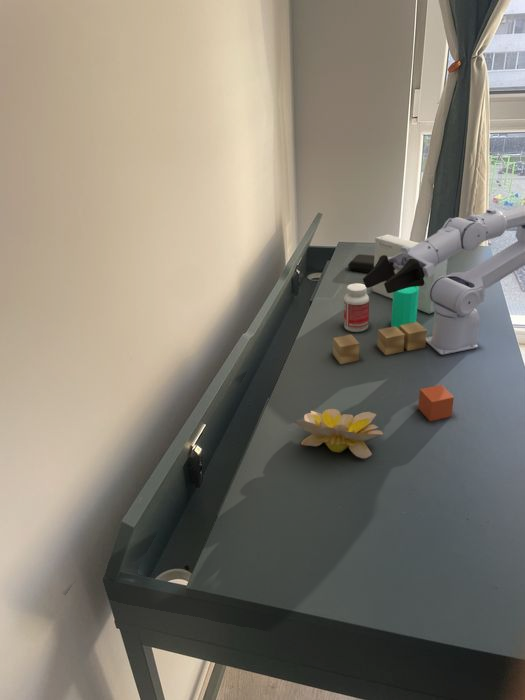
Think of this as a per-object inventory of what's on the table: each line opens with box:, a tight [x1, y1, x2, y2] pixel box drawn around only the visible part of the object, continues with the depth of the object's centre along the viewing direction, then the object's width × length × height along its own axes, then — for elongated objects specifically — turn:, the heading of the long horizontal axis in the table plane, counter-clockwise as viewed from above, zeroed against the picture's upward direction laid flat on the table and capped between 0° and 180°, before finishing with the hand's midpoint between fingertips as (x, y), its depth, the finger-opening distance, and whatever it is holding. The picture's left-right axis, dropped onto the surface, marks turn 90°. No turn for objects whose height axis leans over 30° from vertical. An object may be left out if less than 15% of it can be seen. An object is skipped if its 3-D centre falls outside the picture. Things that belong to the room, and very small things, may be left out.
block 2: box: [376, 326, 405, 356], centre depth 122 cm, size 4×4×4 cm
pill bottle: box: [343, 282, 370, 333], centre depth 131 cm, size 6×6×11 cm
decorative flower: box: [293, 408, 384, 459], centre depth 93 cm, size 15×11×10 cm
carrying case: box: [347, 253, 375, 273], centre depth 166 cm, size 11×3×15 cm
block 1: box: [332, 334, 360, 365], centre depth 120 cm, size 4×4×4 cm
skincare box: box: [372, 233, 449, 315], centre depth 141 cm, size 21×5×16 cm, turn 34°
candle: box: [390, 286, 419, 329], centre depth 129 cm, size 6×6×12 cm
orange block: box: [417, 384, 455, 422], centre depth 100 cm, size 4×4×4 cm
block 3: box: [399, 321, 428, 351], centre depth 123 cm, size 4×4×4 cm
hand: (375, 285), depth 105 cm, fingers open, 7 cm apart
